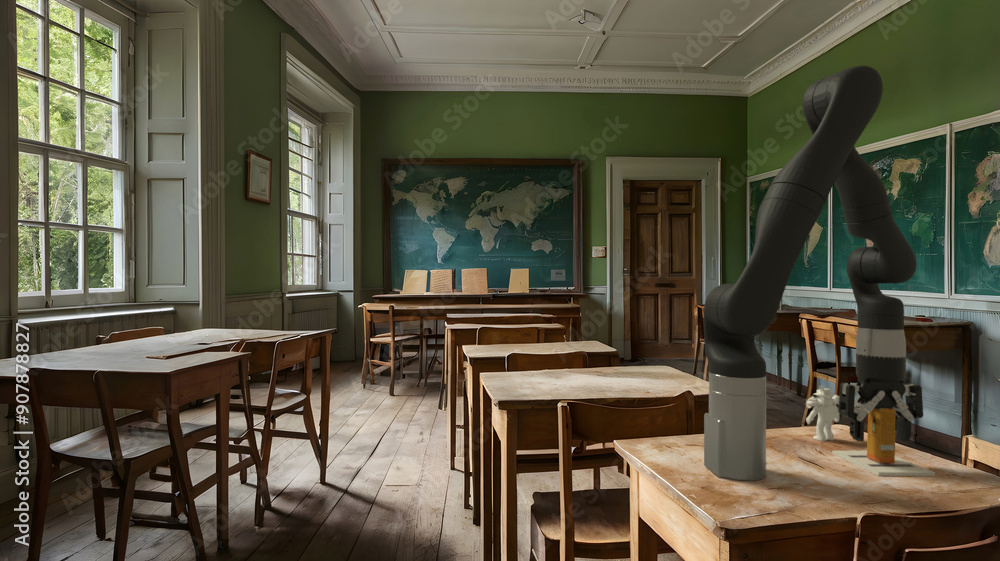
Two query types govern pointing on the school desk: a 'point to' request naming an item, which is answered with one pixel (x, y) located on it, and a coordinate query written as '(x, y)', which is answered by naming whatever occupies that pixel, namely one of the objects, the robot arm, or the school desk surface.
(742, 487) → the school desk surface
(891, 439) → the supplement box
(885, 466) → the letter pad
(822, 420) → the white toy figure
